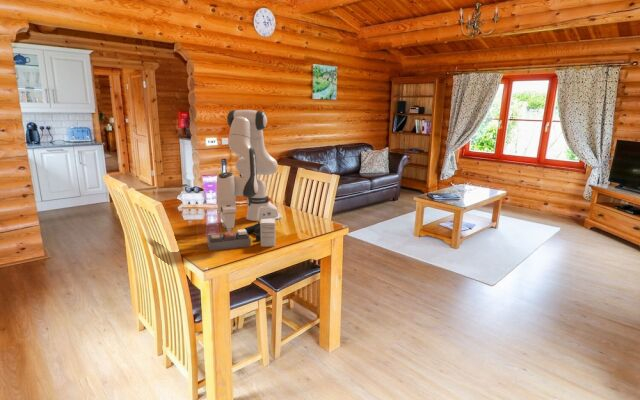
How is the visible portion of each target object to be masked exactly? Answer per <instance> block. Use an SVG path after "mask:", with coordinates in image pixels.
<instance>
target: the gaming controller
mask: <svg viewBox="0 0 640 400" xmlns="http://www.w3.org/2000/svg"><path fill="white" fill-rule="evenodd" d="M243 229H246V231H247V233H248V235H250V234H252V233H254V234H255V240H257V241H258V242H261V230H260V222H258V221H257V223H256V224H252V225H249V226H247V227H243Z"/></svg>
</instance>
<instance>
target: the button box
mask: <svg viewBox="0 0 640 400" xmlns="http://www.w3.org/2000/svg"><path fill="white" fill-rule="evenodd" d="M226 233H227V232H225V233H218V234H217V233H215V234H214V235H220V238H215V239H211V235H212V234H206V244H207V248H208V249H209V252H211V251H220V250H221V251H222V250H227V249H229V250H230V249H235V248H247V247H251V246H252V245H251V244H252V243H251V242H252V239H251V237H250V234H248V233H247V234H244V235H239V234H238V233H237V231H235V232H232V233H233V235H234V237H225V236H224V234H226Z"/></svg>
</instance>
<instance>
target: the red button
mask: <svg viewBox="0 0 640 400" xmlns="http://www.w3.org/2000/svg"><path fill="white" fill-rule="evenodd" d="M225 233H226V234H225ZM225 233H223V234H224V236H225V237H234V235H233V233H234V232H231V235H227V232H225Z"/></svg>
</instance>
